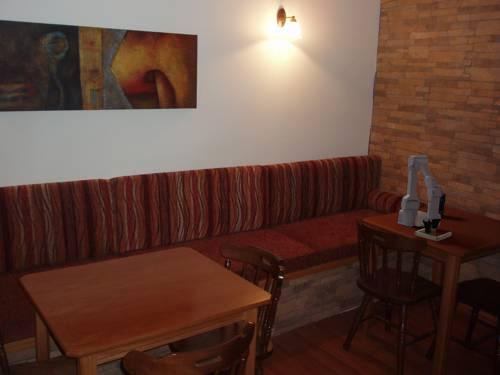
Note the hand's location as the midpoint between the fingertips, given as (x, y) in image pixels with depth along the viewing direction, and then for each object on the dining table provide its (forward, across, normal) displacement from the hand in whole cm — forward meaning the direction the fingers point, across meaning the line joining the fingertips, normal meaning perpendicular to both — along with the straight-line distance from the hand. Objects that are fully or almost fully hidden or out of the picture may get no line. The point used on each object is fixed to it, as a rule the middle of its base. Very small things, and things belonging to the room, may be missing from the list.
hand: (430, 231), depth 292 cm
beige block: (+3, 0, 0) cm, 3 cm away
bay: (+3, +4, 0) cm, 5 cm away
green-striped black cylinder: (+3, +46, +21) cm, 51 cm away
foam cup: (-2, +17, +4) cm, 18 cm away
